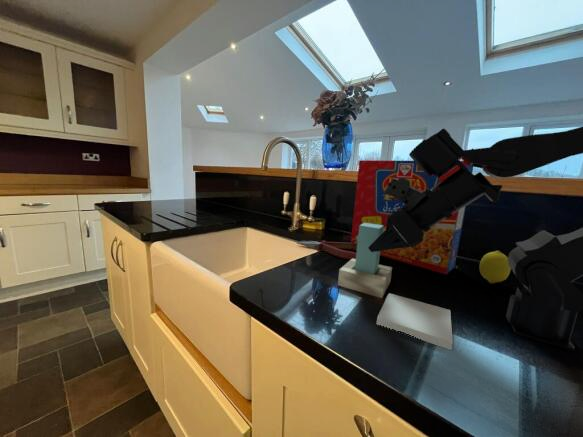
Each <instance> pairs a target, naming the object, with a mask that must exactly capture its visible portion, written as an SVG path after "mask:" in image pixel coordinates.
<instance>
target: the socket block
mask: <svg viewBox="0 0 583 437" xmlns="http://www.w3.org/2000/svg"><path fill="white" fill-rule="evenodd" d="M355 262H356V259H353V258H352V259H351V260H350V259H349V260H348V261H347V262H346V263H345V264H344V265H343V266H342V267H340V268H339V270H338V281H337V286H339V287H343V288H346V289H349V290H353V291H355V292H356V291H357V292H360V293H363V294H367V295H369V296H373V297H375V298H376V297H377V298H380V299H383V297H384V295H385V294H386V291H387V290H388V287H389V286H390V283H391V279H392V274H393V273H392V270H393V267H392V266H387V265H383V264H379V265H378V273H377V275H372V274H369V273H365V272H361V271H357V270H355Z"/></svg>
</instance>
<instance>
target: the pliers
mask: <svg viewBox="0 0 583 437" xmlns="http://www.w3.org/2000/svg"><path fill="white" fill-rule="evenodd" d="M296 244H297V245H300V246H304V247H307V248H310V249H311V248H312V249H316V250H317V252H318V251H322V252H325V253H328V254H330V255H333V256H335V257H336V258H337V257H338V258H341V259H345V260H349V261H350V260H351V259H352V258H353V259H356V253H357V244H354V243H351V242H343V241H342V242H340V241H339V242H338V241H326V240H322V241H320V242H319V241H313V240H300V241H298V242H296ZM351 249H353V251H350V250H351ZM355 251H356V252H355Z"/></svg>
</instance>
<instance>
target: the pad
mask: <svg viewBox="0 0 583 437" xmlns="http://www.w3.org/2000/svg"><path fill="white" fill-rule="evenodd" d="M451 318H452V316H451V309H447V308H445V307H440V306H437V305H433V304H430V303H429V304H428V303H426V302H422V301H419V300H416V299H415V300H414V299H412V298H407V297H404V296H401V295H397V294H394V293H390V292H388V294H387V296H386V297H385V301H384V302H383V304H382V306H381V309H380V311H379V313H378V315H377V318H376V325H377V326H380V325H381V327H383V326H384V327H383V328H386V327H387V329H389V328H390V329H389V330H392V329H394V330H396V331H395V332H397V331H401V332H404V333H406V334H409V335H411V336H410V337H412V336H414V337H413V338H415V337H416V338H415V339H417V338H418V340H420V339H421V341H424V342H426V343H430V344H432V345H436V346H439V347H440V348H443V349H446V350H449V351H451V350H452V348H453V344H454V342H453V340H454V339H453V332H452V331H453V328H452V319H451ZM394 330H393V331H394ZM406 334H405V335H406ZM409 335H408V336H409Z"/></svg>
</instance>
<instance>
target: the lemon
mask: <svg viewBox="0 0 583 437" xmlns="http://www.w3.org/2000/svg"><path fill="white" fill-rule="evenodd" d="M511 271H512V269H511V268H510V266H509V264H508V256H507V255H505V254H504V253H503V252H501V251H500V250H495V251H491V252H487V253H486V254H484V255H483V257H482V258H481V260H480V262H479V272H480V275H481V276H482V277H483V279H485V280H487V281H488V283H490V284H495V283H501V282H503V281H505V280H507V278H508V277H509V275H510V273H511Z"/></svg>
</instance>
